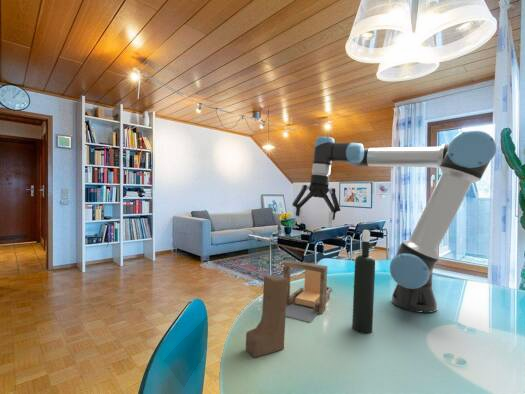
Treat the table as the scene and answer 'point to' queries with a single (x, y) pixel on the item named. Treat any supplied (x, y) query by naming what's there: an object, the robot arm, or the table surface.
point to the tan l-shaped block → (310, 289)
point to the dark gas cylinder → (363, 289)
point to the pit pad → (328, 289)
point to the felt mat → (300, 313)
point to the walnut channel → (324, 296)
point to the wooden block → (270, 319)
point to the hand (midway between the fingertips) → (314, 225)
